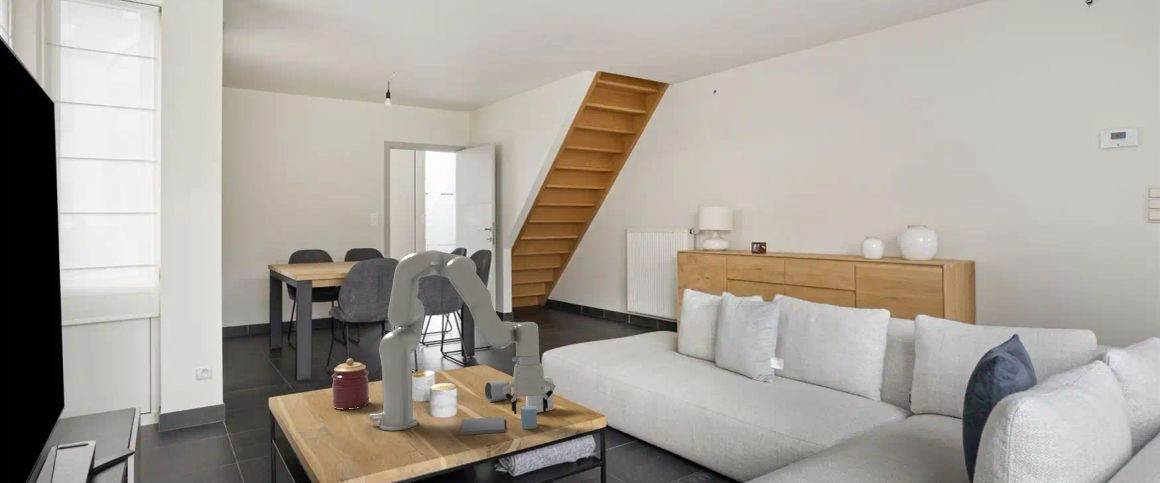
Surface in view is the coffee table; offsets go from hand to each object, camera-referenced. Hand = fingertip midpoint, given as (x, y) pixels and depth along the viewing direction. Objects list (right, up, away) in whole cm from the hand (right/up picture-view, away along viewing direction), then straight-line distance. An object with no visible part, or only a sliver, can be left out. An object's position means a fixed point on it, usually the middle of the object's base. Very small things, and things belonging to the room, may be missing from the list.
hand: (529, 411), depth 206 cm
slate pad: (-15, -5, 0) cm, 16 cm away
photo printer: (+2, -5, +17) cm, 17 cm away
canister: (-69, -6, +28) cm, 75 cm away
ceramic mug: (-16, -5, +33) cm, 37 cm away
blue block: (0, -5, 0) cm, 5 cm away
